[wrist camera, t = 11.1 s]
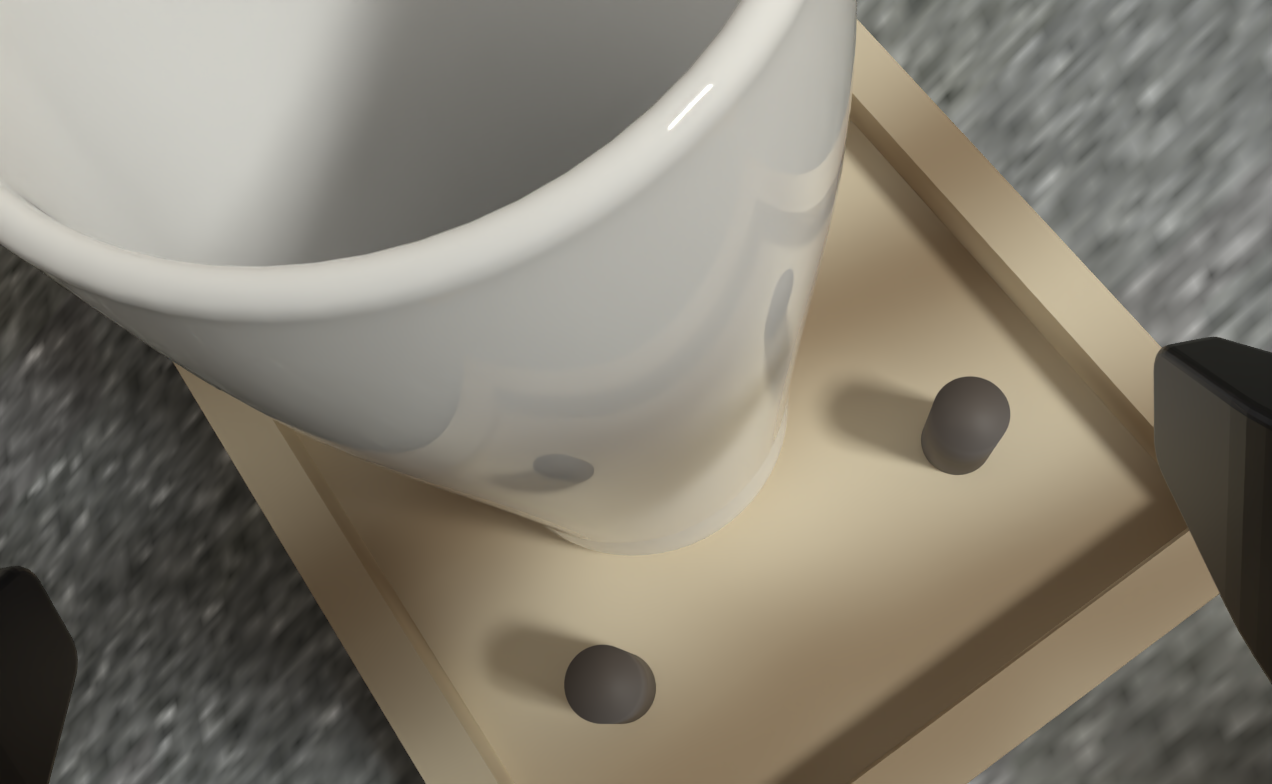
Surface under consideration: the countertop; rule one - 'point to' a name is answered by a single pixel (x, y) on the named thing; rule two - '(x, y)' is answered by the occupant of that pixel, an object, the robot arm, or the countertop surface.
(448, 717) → the pin tray
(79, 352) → the countertop surface
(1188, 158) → the countertop surface
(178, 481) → the countertop surface
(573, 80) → the drinking glass
